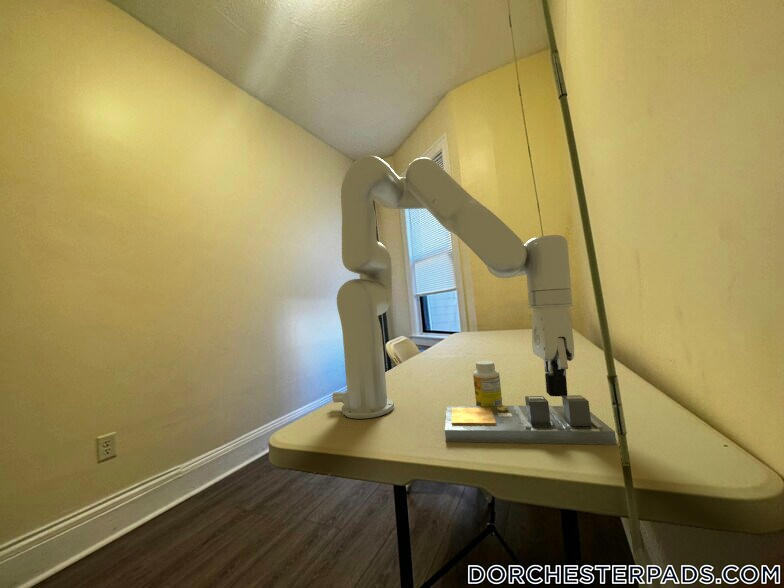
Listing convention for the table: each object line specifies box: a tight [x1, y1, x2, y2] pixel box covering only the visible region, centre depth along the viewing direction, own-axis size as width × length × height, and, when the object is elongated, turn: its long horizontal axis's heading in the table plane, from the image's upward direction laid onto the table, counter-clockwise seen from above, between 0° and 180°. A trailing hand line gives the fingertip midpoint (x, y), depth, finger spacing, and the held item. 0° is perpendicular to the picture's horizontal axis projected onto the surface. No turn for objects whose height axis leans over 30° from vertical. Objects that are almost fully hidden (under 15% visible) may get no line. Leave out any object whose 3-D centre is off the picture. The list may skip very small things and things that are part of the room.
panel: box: [444, 395, 617, 446], centre depth 53 cm, size 26×12×6 cm, turn 77°
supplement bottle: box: [472, 360, 503, 406], centre depth 64 cm, size 6×6×10 cm
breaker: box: [561, 394, 591, 426], centre depth 49 cm, size 3×3×4 cm
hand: (556, 394), depth 56 cm, fingers closed
